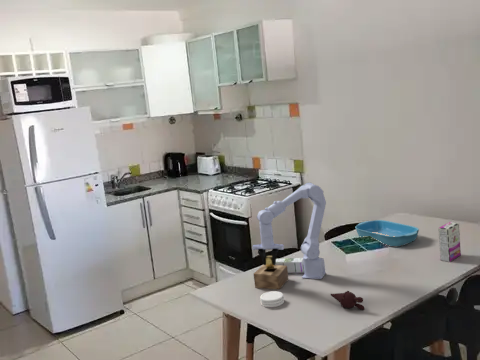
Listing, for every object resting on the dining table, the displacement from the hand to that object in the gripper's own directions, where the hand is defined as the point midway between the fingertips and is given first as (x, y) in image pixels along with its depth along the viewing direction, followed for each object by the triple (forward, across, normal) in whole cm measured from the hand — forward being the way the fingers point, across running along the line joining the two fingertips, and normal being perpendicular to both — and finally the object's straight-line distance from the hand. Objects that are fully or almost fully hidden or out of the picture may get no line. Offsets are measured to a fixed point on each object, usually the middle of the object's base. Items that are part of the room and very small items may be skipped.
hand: (269, 264), depth 239 cm
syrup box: (+6, +2, -16) cm, 17 cm away
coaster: (+10, -6, +21) cm, 24 cm away
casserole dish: (+10, -49, -65) cm, 82 cm away
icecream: (+10, -37, +24) cm, 45 cm away
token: (+1, 0, 0) cm, 1 cm away
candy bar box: (+10, -80, -34) cm, 87 cm away
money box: (+9, 0, 0) cm, 9 cm away
